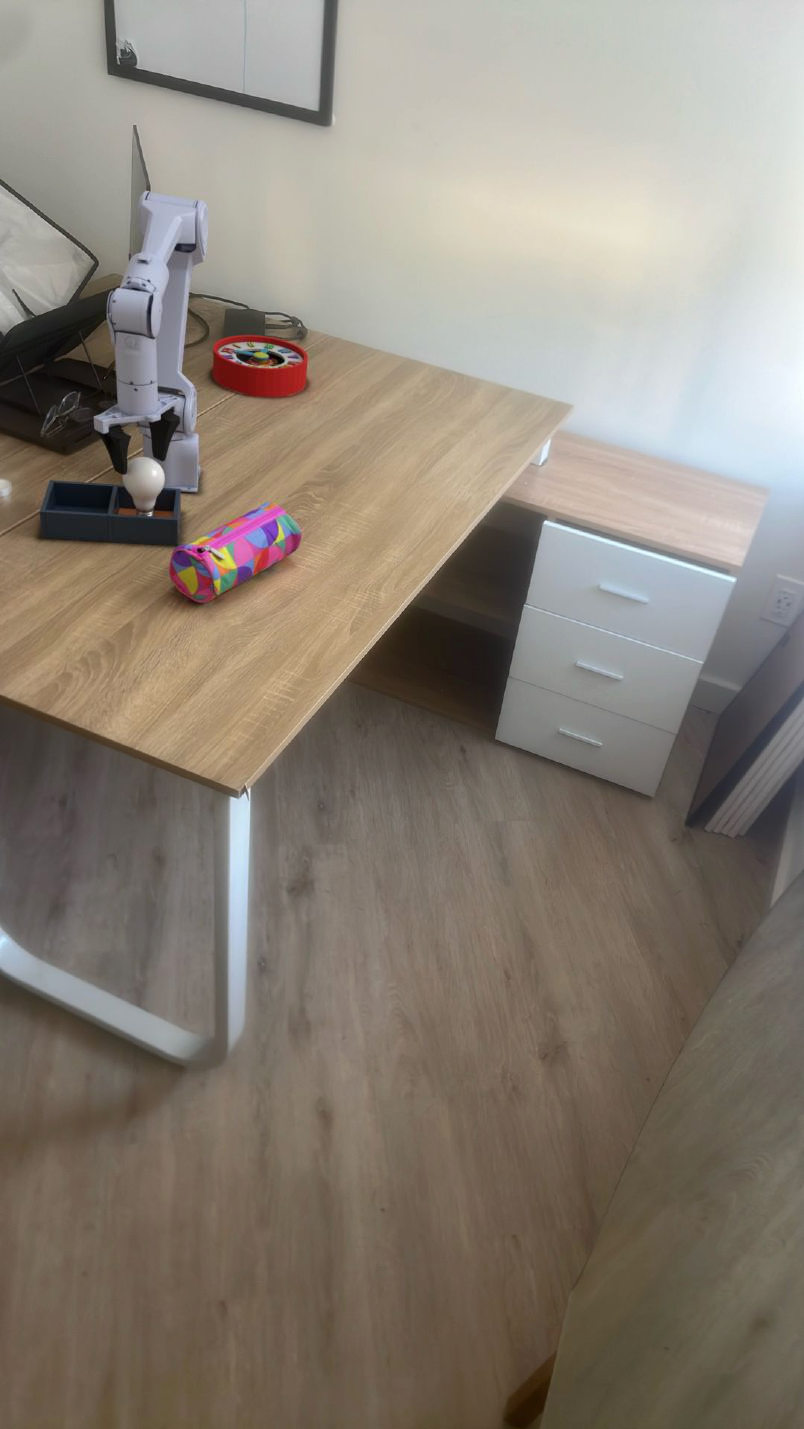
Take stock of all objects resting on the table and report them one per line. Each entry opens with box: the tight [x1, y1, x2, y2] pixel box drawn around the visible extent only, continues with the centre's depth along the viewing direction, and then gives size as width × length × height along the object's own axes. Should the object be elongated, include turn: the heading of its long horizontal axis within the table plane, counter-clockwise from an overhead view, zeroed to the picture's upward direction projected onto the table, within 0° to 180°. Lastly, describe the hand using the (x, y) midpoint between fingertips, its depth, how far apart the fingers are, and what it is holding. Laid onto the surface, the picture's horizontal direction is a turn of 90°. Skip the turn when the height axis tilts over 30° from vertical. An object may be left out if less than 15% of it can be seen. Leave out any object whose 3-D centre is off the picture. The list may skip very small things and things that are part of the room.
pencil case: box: [168, 501, 302, 604], centre depth 140 cm, size 22×9×9 cm, turn 148°
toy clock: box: [212, 334, 309, 398], centre depth 203 cm, size 20×6×20 cm
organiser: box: [39, 479, 182, 547], centre depth 148 cm, size 20×10×4 cm, turn 98°
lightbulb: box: [121, 456, 165, 517], centre depth 147 cm, size 6×6×11 cm
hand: (140, 465), depth 145 cm, fingers open, 7 cm apart
